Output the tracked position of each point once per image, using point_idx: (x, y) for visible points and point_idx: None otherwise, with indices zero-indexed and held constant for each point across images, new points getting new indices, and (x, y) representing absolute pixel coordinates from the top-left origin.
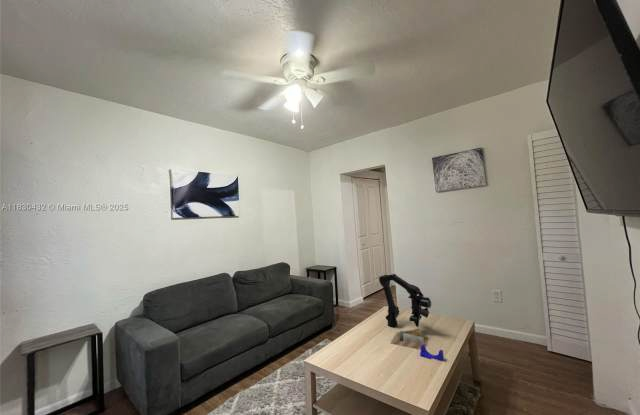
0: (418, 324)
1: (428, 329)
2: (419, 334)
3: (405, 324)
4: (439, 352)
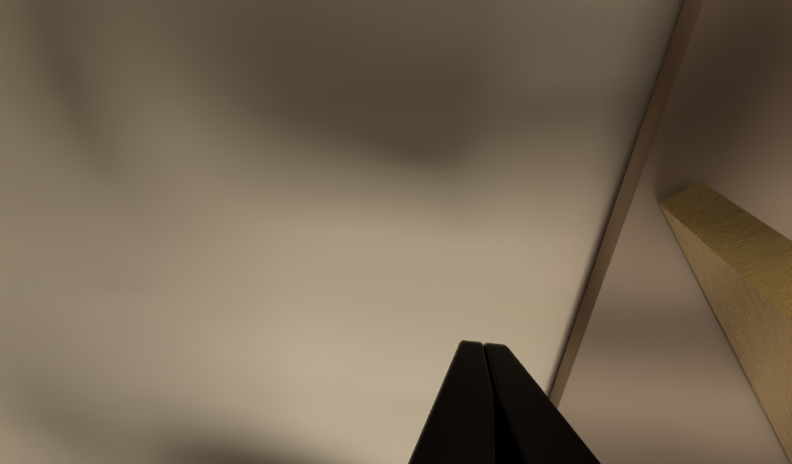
0: (564, 434)
1: (71, 3)
2: (751, 224)
3: (141, 436)
4: None
